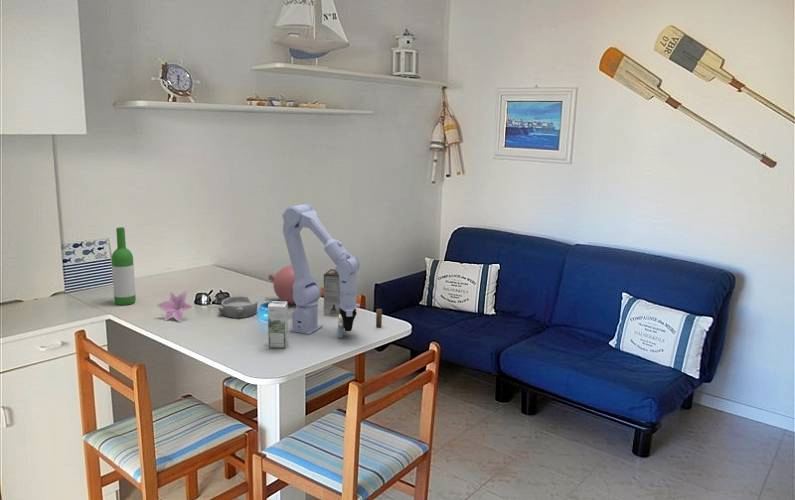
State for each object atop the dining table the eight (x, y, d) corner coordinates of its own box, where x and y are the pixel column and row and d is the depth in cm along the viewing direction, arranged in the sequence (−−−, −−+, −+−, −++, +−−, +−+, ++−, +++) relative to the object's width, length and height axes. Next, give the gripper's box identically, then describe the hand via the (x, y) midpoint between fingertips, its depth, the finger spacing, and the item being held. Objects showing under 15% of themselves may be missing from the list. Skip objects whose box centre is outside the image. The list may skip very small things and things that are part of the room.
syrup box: (288, 342, 214) (287, 300, 211) (285, 348, 208) (285, 305, 205) (271, 342, 214) (270, 300, 210) (268, 348, 208) (267, 305, 205)
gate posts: (338, 328, 228) (338, 311, 227) (337, 326, 231) (337, 309, 229) (381, 327, 230) (382, 310, 229) (381, 325, 233) (381, 308, 231)
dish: (239, 305, 253) (238, 293, 252) (265, 311, 246) (265, 299, 245) (211, 315, 241) (211, 302, 240) (238, 321, 234) (238, 308, 233)
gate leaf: (338, 327, 228) (339, 314, 227) (343, 327, 228) (343, 314, 227) (337, 337, 218) (337, 323, 217) (342, 338, 218) (342, 323, 217)
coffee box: (330, 308, 252) (330, 268, 249) (346, 309, 251) (346, 269, 248) (323, 315, 243) (323, 274, 240) (339, 316, 242) (339, 275, 239)
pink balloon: (283, 293, 271) (282, 258, 267) (320, 301, 260) (320, 264, 257) (257, 302, 258) (256, 264, 255) (295, 311, 247) (294, 272, 244)
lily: (155, 319, 237) (150, 301, 231) (180, 301, 244) (176, 283, 238) (177, 334, 232) (173, 316, 226) (202, 315, 240) (198, 298, 233)
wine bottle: (133, 299, 257) (129, 225, 251) (137, 304, 251) (133, 228, 245) (113, 301, 253) (107, 227, 247) (116, 306, 247) (111, 230, 241)
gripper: (361, 297, 212) (361, 336, 214) (358, 286, 226) (358, 323, 228) (340, 298, 211) (340, 337, 213) (337, 286, 225) (338, 323, 227)
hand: (348, 330), depth 221 cm, fingers closed, pressing on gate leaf
